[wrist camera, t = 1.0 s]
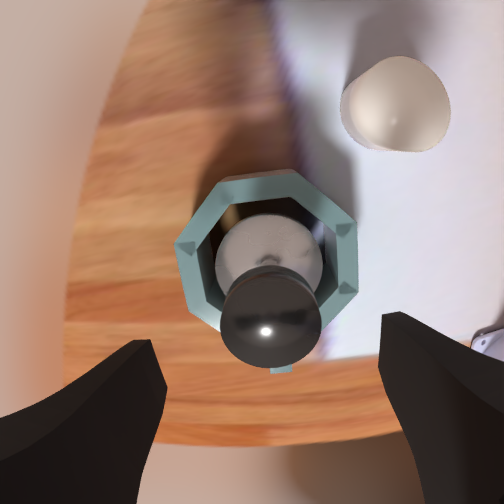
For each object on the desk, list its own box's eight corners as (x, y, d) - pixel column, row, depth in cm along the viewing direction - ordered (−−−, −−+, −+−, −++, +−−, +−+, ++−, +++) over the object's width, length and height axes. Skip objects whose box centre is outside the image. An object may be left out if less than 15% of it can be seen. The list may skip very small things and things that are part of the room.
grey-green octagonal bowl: (335, 164, 17) (352, 167, 13) (343, 331, 20) (356, 363, 16) (182, 183, 17) (163, 191, 14) (214, 345, 20) (206, 378, 17)
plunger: (316, 206, 15) (348, 242, 9) (322, 304, 16) (347, 377, 10) (209, 219, 15) (176, 262, 9) (226, 314, 16) (209, 391, 11)
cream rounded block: (405, 76, 15) (442, 60, 11) (415, 149, 16) (455, 152, 12) (334, 75, 15) (355, 54, 11) (344, 152, 16) (369, 154, 12)
